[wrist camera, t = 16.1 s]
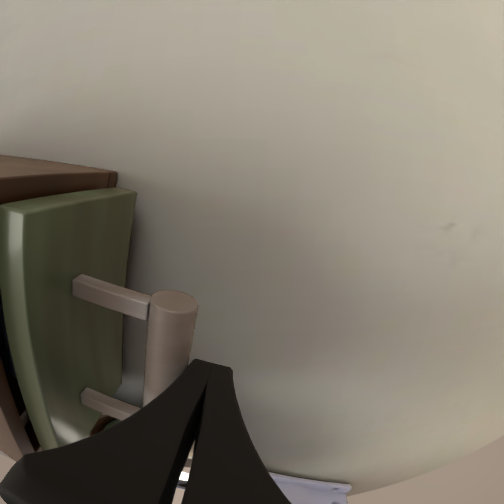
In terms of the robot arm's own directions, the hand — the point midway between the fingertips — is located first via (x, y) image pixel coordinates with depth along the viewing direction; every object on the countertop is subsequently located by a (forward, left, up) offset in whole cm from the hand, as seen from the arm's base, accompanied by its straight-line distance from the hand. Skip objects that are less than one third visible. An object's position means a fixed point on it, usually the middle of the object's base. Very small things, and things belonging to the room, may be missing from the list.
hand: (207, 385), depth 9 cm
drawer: (+9, +2, -4) cm, 10 cm away
